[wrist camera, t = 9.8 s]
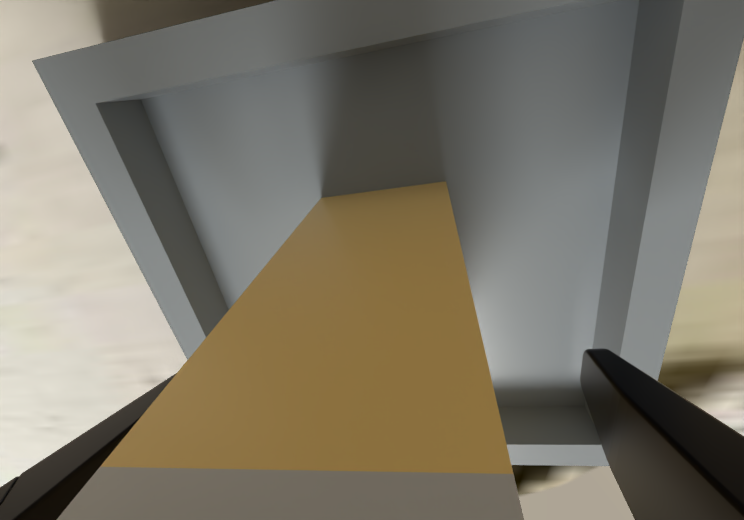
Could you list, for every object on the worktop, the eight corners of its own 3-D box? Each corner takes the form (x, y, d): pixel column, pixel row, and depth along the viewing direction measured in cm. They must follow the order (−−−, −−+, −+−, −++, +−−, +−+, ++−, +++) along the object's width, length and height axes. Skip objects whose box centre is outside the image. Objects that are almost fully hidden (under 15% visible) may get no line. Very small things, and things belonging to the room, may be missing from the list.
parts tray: (687, -73, 8) (784, -126, 6) (605, 409, 15) (635, 466, 13) (108, 63, 11) (32, 60, 9) (262, 414, 18) (240, 461, 16)
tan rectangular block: (445, 181, 11) (554, 651, 2) (458, 336, 13) (527, 835, 5) (320, 197, 12) (-6, 594, 3) (355, 342, 14) (247, 781, 5)
